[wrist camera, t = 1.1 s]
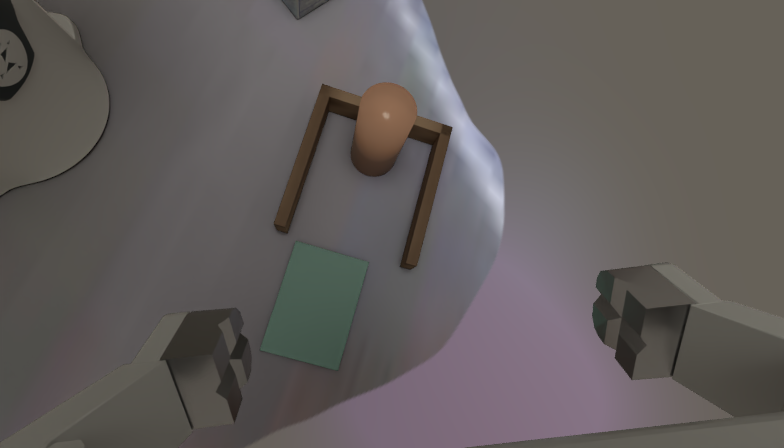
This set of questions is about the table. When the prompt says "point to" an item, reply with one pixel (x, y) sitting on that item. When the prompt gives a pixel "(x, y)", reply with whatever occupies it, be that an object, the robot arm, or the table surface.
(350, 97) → the frame
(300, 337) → the pad
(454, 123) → the table surface
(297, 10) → the medicine box
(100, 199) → the table surface
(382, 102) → the terracotta canister
